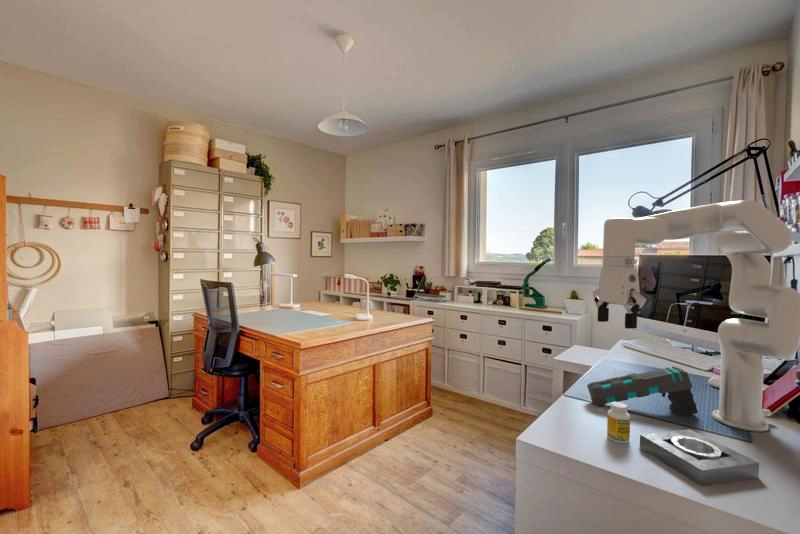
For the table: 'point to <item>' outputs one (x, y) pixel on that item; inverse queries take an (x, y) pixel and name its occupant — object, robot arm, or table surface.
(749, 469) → the bore block
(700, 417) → the table surface
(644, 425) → the table surface
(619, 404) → the supplement bottle
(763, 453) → the table surface
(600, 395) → the gun
